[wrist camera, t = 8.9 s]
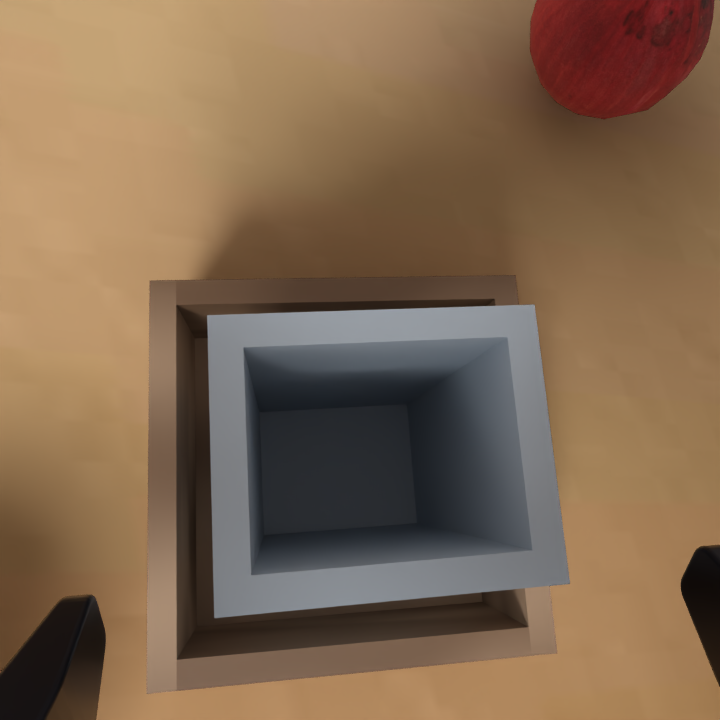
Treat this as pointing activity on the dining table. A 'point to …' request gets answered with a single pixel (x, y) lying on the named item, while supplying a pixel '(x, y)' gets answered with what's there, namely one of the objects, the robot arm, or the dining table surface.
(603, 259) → the dining table surface
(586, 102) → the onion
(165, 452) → the big crate
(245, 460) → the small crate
